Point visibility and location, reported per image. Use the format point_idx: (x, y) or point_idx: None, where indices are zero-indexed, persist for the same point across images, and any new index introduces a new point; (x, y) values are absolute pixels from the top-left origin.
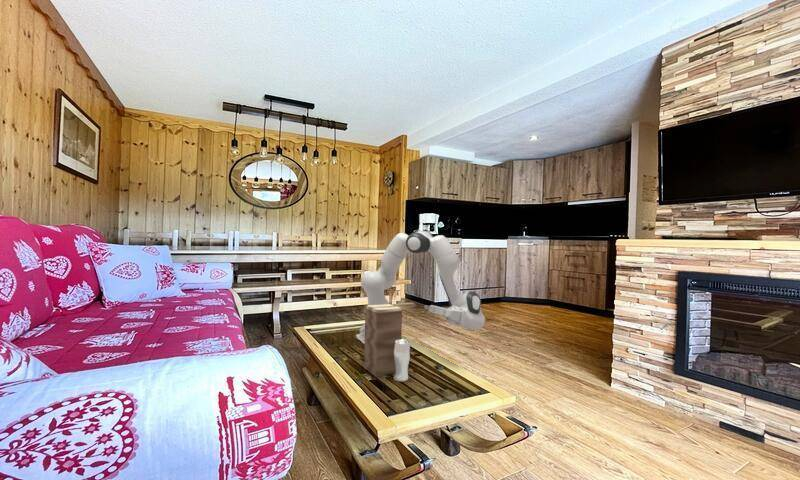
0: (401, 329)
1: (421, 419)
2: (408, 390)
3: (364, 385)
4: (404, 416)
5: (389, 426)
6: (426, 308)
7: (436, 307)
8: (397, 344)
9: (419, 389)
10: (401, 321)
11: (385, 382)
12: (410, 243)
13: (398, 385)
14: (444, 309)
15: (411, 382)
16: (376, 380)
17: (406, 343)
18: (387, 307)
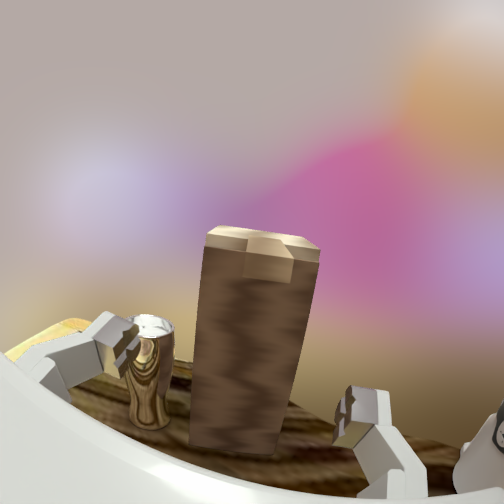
0: (196, 325)
1: (35, 337)
2: (94, 386)
3: (180, 366)
4: (59, 336)
5: (66, 321)
6: (337, 411)
7: (291, 493)
8: (144, 316)
9: (76, 397)
10: (199, 292)
11: None
12: None
13: (127, 392)
14: (33, 380)
15: (112, 414)
16: (183, 386)
17: (147, 347)
18: (242, 233)
